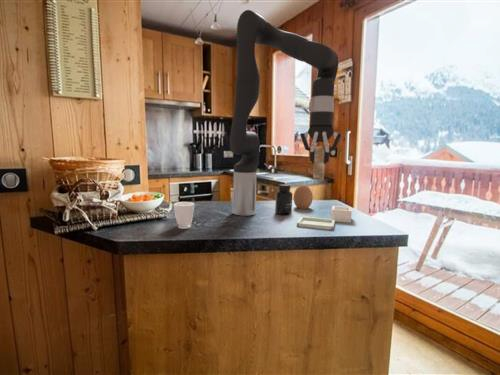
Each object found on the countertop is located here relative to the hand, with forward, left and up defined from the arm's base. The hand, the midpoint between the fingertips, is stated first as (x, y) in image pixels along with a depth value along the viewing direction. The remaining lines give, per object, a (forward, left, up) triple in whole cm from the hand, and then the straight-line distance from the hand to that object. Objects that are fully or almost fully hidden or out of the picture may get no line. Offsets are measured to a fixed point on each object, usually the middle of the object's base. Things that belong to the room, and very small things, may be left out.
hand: (319, 163), depth 100 cm
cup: (-43, -16, -22) cm, 51 cm away
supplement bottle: (-15, +15, -22) cm, 31 cm away
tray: (0, 0, -22) cm, 22 cm away
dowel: (0, 0, -5) cm, 5 cm away
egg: (-9, +26, -22) cm, 35 cm away
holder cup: (+8, +11, -22) cm, 26 cm away
